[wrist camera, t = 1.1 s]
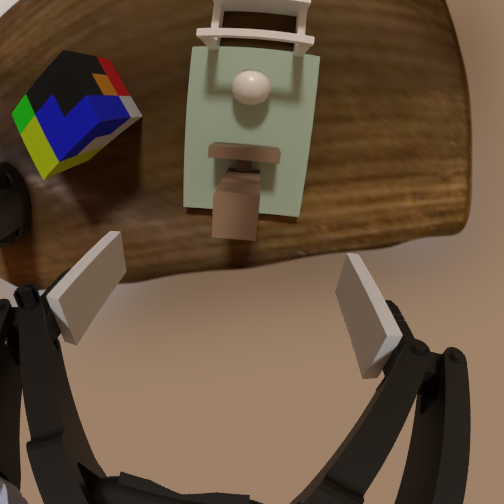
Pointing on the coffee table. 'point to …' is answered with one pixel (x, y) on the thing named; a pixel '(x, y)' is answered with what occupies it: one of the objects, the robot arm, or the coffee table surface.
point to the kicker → (239, 189)
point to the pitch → (251, 107)
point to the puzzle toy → (73, 112)
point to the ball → (251, 86)
